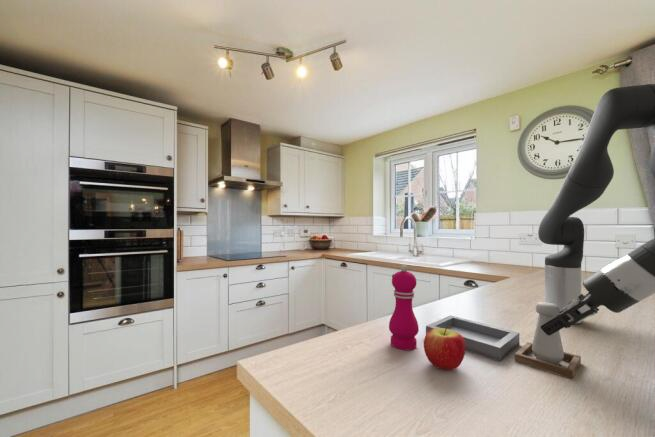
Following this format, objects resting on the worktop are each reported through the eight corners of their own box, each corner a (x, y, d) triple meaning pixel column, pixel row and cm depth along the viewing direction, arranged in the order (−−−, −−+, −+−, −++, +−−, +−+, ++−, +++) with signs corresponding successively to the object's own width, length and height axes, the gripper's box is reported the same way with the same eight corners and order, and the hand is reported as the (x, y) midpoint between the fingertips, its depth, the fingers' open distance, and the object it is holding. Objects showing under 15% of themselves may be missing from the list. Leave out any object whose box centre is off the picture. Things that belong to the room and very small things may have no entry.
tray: (450, 325, 88) (450, 315, 88) (519, 344, 74) (519, 332, 74) (425, 337, 78) (425, 325, 78) (500, 361, 65) (500, 347, 65)
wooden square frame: (527, 348, 72) (527, 342, 72) (580, 363, 65) (580, 356, 65) (514, 360, 65) (514, 353, 65) (572, 378, 58) (572, 371, 58)
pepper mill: (420, 342, 75) (421, 264, 75) (416, 353, 68) (417, 268, 69) (392, 337, 78) (392, 262, 78) (385, 347, 71) (386, 265, 72)
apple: (446, 381, 56) (447, 329, 57) (414, 362, 64) (415, 316, 64) (474, 371, 60) (474, 323, 60) (441, 355, 68) (441, 311, 68)
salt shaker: (570, 369, 62) (570, 308, 62) (539, 366, 63) (539, 306, 63) (554, 357, 67) (554, 300, 67) (526, 354, 68) (527, 299, 69)
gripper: (606, 264, 63) (542, 306, 72) (598, 271, 54) (525, 318, 62) (643, 294, 59) (570, 334, 68) (641, 306, 50) (556, 351, 58)
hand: (549, 326), depth 65 cm, fingers open, 8 cm apart
